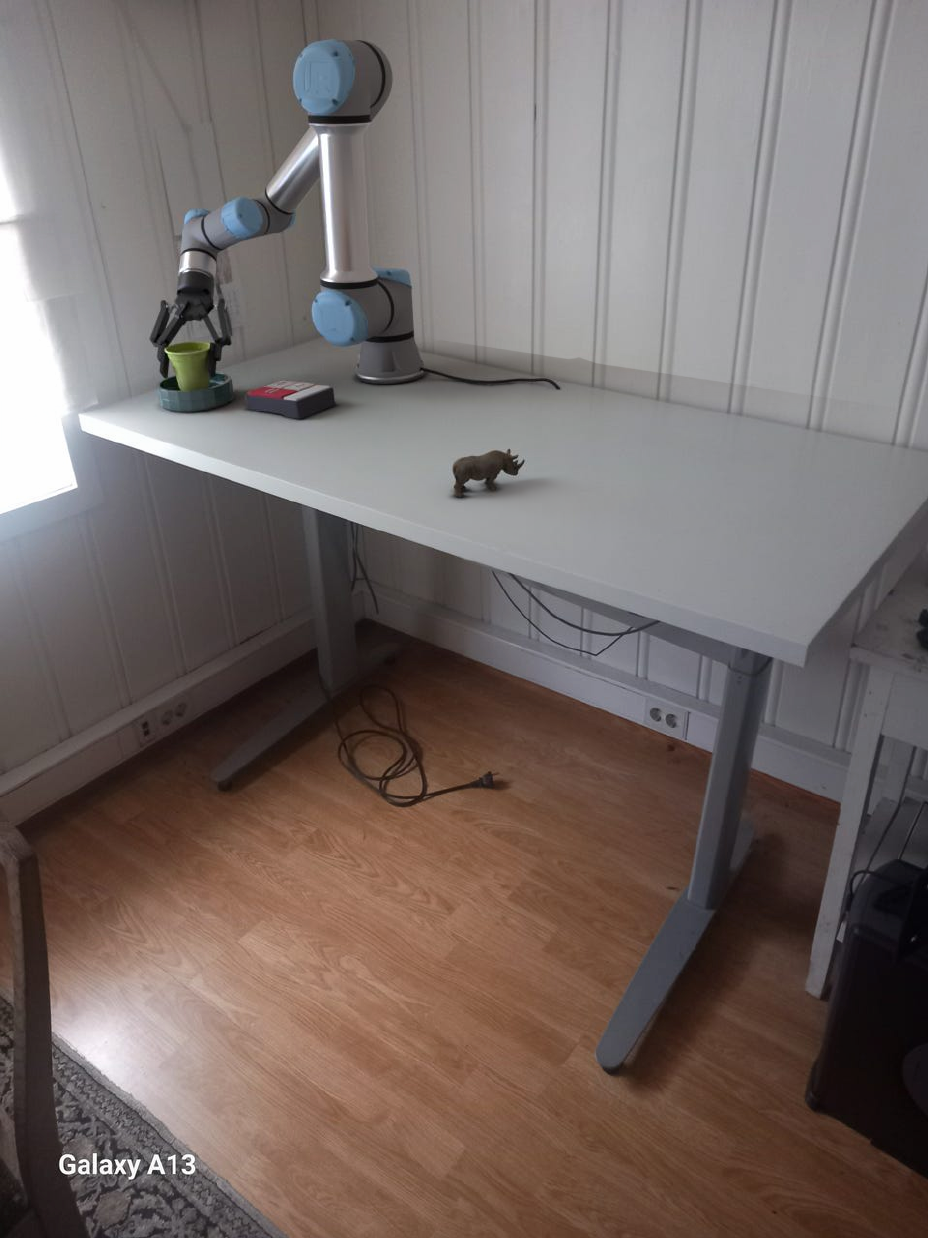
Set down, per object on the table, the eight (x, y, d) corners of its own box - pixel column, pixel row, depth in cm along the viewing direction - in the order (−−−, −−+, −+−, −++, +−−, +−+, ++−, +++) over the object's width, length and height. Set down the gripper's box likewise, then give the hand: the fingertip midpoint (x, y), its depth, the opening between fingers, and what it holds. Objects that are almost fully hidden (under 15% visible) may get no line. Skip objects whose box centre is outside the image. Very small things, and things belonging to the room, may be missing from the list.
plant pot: (226, 383, 206) (219, 342, 202) (202, 396, 198) (194, 353, 194) (188, 380, 209) (181, 340, 205) (163, 393, 201) (155, 351, 197)
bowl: (249, 398, 206) (246, 377, 204) (191, 417, 196) (187, 395, 193) (203, 387, 214) (200, 367, 212) (145, 405, 204) (141, 384, 202)
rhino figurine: (532, 481, 157) (532, 446, 155) (458, 499, 152) (456, 463, 149) (519, 474, 161) (518, 439, 158) (446, 491, 155) (444, 456, 152)
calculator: (281, 378, 205) (333, 383, 197) (284, 398, 207) (336, 404, 199) (243, 391, 197) (296, 397, 189) (247, 412, 199) (299, 419, 191)
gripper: (252, 288, 208) (245, 382, 202) (152, 291, 209) (142, 384, 203) (242, 267, 201) (234, 363, 195) (139, 270, 202) (128, 366, 196)
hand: (187, 374), depth 199 cm, fingers closed on plant pot, 9 cm apart
